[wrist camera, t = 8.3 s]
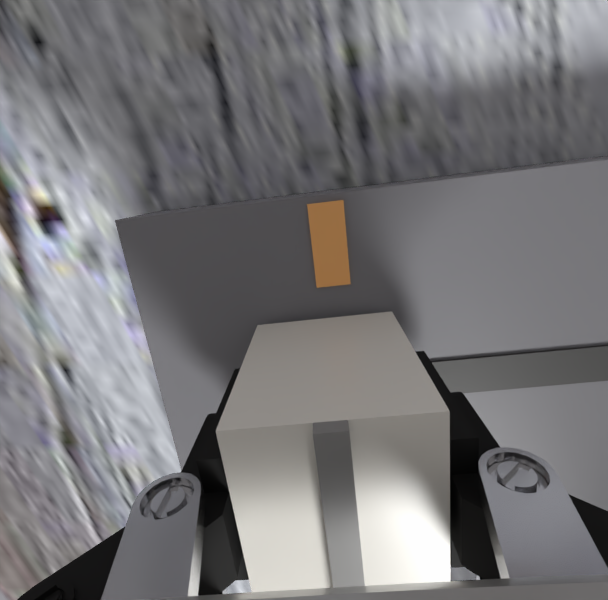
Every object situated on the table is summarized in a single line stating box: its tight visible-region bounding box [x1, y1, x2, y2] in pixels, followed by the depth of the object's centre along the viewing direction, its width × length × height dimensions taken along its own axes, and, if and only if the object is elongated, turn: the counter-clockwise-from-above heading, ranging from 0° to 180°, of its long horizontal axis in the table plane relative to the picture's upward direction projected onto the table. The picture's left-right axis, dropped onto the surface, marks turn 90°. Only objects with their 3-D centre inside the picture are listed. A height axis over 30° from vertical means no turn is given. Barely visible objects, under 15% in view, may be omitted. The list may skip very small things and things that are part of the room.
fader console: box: [115, 156, 608, 511], centre depth 13 cm, size 24×12×3 cm, turn 97°
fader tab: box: [216, 311, 450, 592], centre depth 9 cm, size 4×5×5 cm
